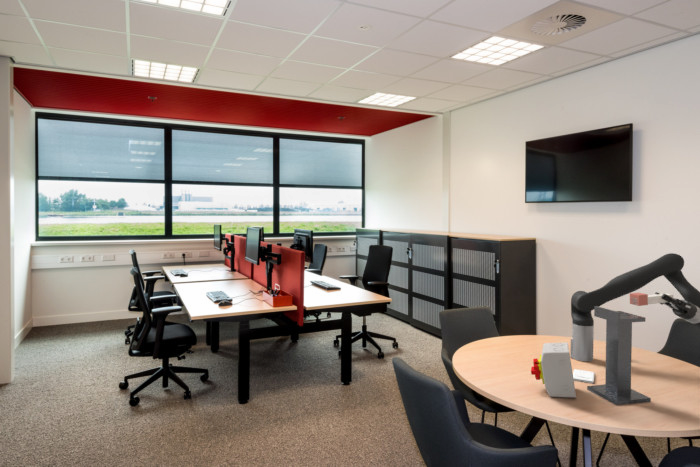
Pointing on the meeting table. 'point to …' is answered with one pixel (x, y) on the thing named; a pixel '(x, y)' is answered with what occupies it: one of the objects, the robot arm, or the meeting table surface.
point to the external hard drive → (583, 376)
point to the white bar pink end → (646, 298)
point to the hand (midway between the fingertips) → (659, 295)
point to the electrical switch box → (555, 370)
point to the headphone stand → (618, 358)
